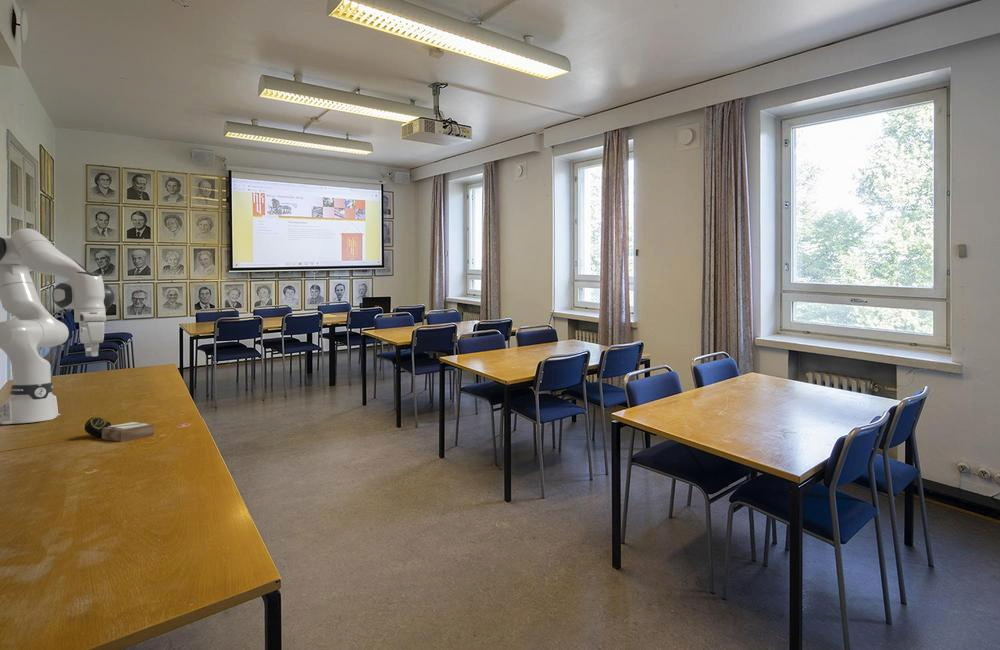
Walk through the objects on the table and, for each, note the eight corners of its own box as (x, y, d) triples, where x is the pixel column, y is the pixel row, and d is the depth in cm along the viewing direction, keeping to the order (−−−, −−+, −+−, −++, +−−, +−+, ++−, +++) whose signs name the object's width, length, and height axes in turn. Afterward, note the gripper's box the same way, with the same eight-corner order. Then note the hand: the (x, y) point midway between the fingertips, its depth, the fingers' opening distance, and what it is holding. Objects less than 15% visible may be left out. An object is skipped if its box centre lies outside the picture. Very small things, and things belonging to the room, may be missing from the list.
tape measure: (98, 441, 186) (104, 434, 185) (78, 431, 183) (84, 424, 182) (107, 429, 192) (113, 423, 191) (88, 419, 189) (94, 412, 188)
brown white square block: (101, 438, 184) (101, 426, 184) (135, 432, 194) (134, 421, 194) (120, 441, 179) (120, 429, 179) (153, 435, 189) (153, 423, 189)
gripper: (73, 318, 193) (75, 356, 193) (84, 316, 179) (86, 357, 179) (95, 318, 197) (96, 355, 198) (107, 315, 183) (109, 355, 183)
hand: (91, 356), depth 188 cm, fingers open, 8 cm apart
